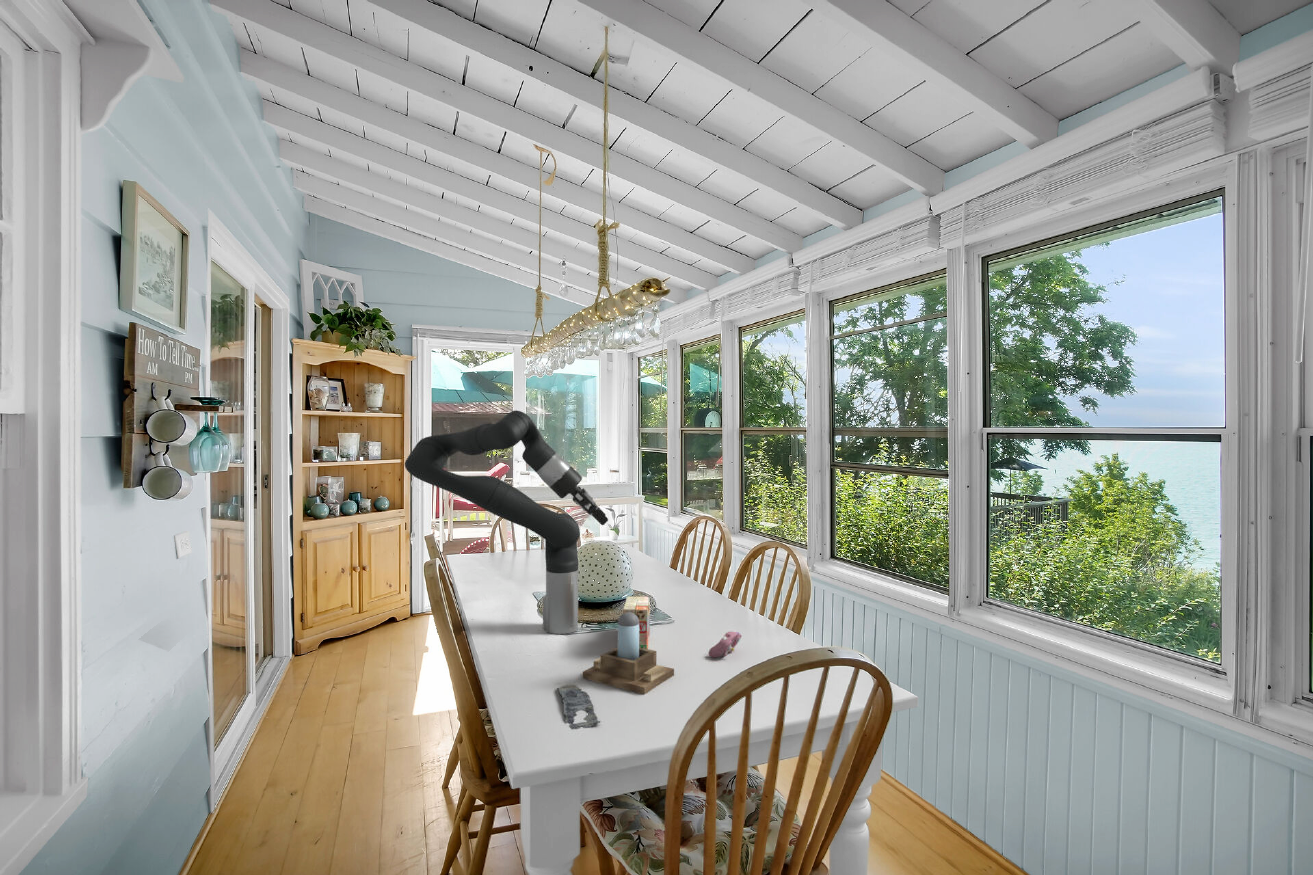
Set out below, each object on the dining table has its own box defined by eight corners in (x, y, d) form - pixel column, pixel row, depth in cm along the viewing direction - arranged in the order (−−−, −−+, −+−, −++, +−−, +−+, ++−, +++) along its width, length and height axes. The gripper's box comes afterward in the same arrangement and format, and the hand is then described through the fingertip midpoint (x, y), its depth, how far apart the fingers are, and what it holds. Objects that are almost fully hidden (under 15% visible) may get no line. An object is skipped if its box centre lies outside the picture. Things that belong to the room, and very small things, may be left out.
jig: (582, 678, 148) (582, 654, 148) (614, 661, 159) (615, 639, 159) (644, 694, 139) (644, 669, 139) (674, 675, 150) (674, 651, 150)
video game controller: (720, 666, 161) (732, 643, 159) (705, 655, 163) (717, 632, 161) (735, 654, 169) (747, 632, 167) (721, 643, 171) (732, 622, 169)
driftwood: (555, 689, 142) (555, 680, 142) (586, 686, 144) (586, 677, 144) (565, 733, 122) (565, 722, 122) (600, 729, 124) (600, 718, 124)
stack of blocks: (628, 630, 184) (628, 587, 184) (650, 630, 184) (650, 588, 184) (622, 656, 163) (622, 608, 163) (647, 656, 163) (647, 608, 163)
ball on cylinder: (613, 671, 148) (613, 613, 148) (625, 664, 153) (625, 608, 152) (631, 675, 146) (631, 616, 146) (643, 668, 150) (643, 611, 150)
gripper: (548, 483, 167) (592, 526, 169) (547, 488, 153) (595, 535, 155) (569, 463, 168) (612, 506, 170) (570, 466, 154) (617, 513, 156)
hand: (604, 520), depth 162 cm, fingers open, 8 cm apart
